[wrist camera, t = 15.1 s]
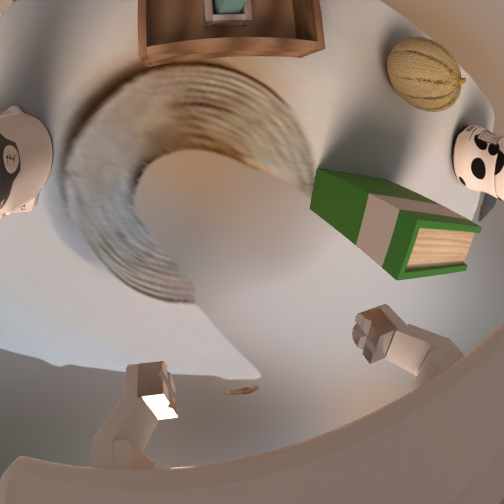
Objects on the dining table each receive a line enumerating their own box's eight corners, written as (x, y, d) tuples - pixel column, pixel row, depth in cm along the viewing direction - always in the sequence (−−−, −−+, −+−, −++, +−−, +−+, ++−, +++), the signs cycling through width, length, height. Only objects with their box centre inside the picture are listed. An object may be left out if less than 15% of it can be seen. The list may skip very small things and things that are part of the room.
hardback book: (388, 180, 50) (481, 227, 29) (380, 213, 53) (465, 270, 33) (316, 168, 45) (417, 219, 24) (309, 208, 48) (396, 280, 28)
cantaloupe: (362, 41, 35) (421, 30, 22) (411, 41, 36) (466, 38, 23) (382, 113, 43) (442, 122, 30) (427, 103, 43) (481, 113, 30)
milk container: (466, 192, 58) (513, 217, 43) (440, 168, 52) (498, 193, 37) (481, 141, 52) (529, 159, 37) (457, 110, 46) (515, 124, 30)
